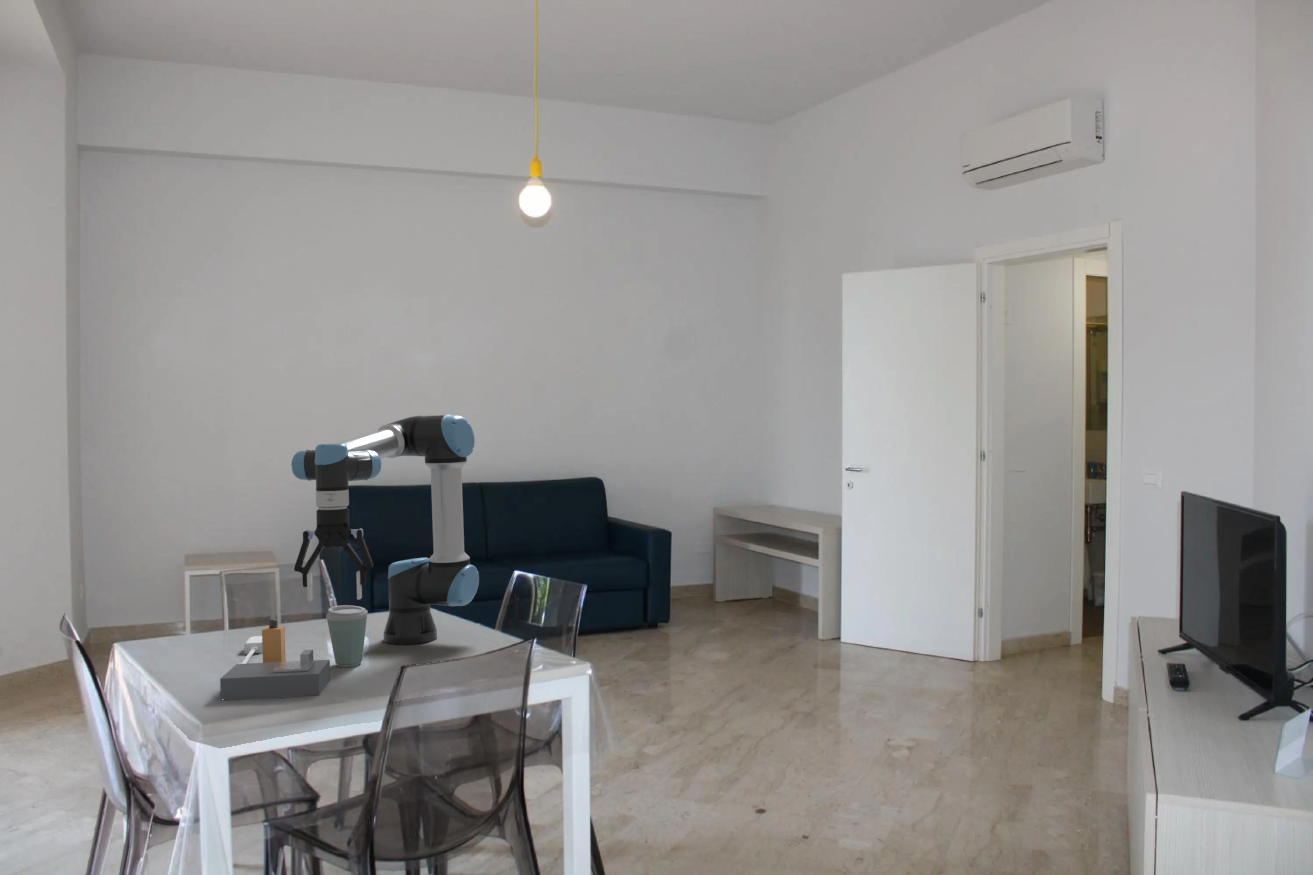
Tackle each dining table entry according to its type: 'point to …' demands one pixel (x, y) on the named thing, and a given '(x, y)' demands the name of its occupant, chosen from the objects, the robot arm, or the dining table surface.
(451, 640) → the dining table surface
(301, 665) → the shutter
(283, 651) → the plug
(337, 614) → the disposable coffee cup
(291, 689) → the socket box
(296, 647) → the dining table surface
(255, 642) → the charging cable
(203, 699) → the dining table surface
